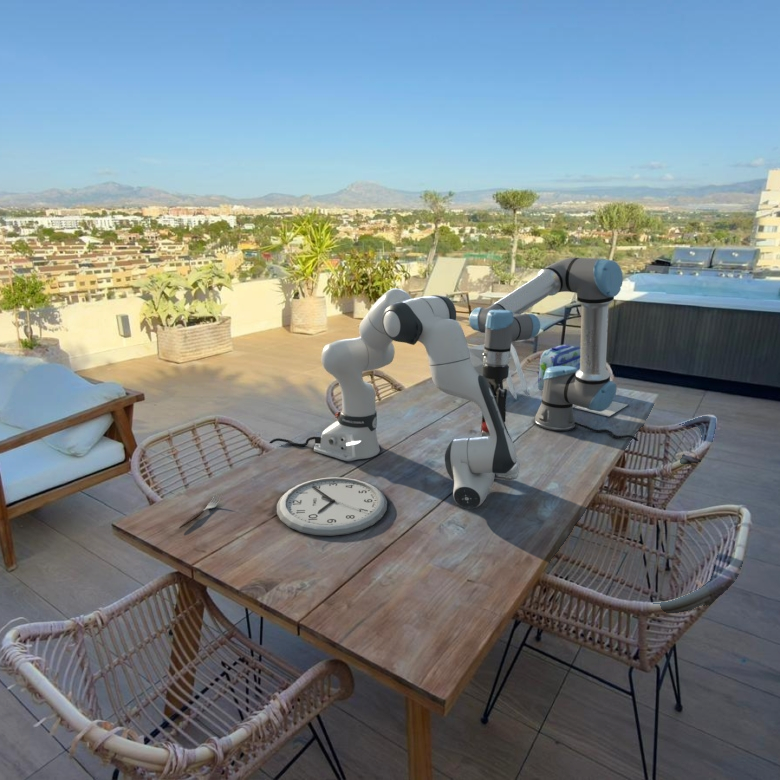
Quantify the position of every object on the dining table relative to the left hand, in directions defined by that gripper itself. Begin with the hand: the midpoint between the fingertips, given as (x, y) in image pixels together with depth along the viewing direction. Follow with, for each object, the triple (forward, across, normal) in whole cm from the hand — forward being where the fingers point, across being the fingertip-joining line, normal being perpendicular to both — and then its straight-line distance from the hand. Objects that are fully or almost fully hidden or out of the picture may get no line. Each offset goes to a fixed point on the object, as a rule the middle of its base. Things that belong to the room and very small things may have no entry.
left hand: (489, 454), depth 162 cm
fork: (-55, +65, +6) cm, 85 cm away
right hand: (-1, 0, -6) cm, 7 cm away
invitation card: (+83, -33, +6) cm, 90 cm away
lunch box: (+102, -13, +6) cm, 103 cm away
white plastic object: (+82, +20, +6) cm, 84 cm away
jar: (-1, 0, +6) cm, 6 cm away
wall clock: (-37, +35, +6) cm, 51 cm away
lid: (-1, 0, -10) cm, 10 cm away
